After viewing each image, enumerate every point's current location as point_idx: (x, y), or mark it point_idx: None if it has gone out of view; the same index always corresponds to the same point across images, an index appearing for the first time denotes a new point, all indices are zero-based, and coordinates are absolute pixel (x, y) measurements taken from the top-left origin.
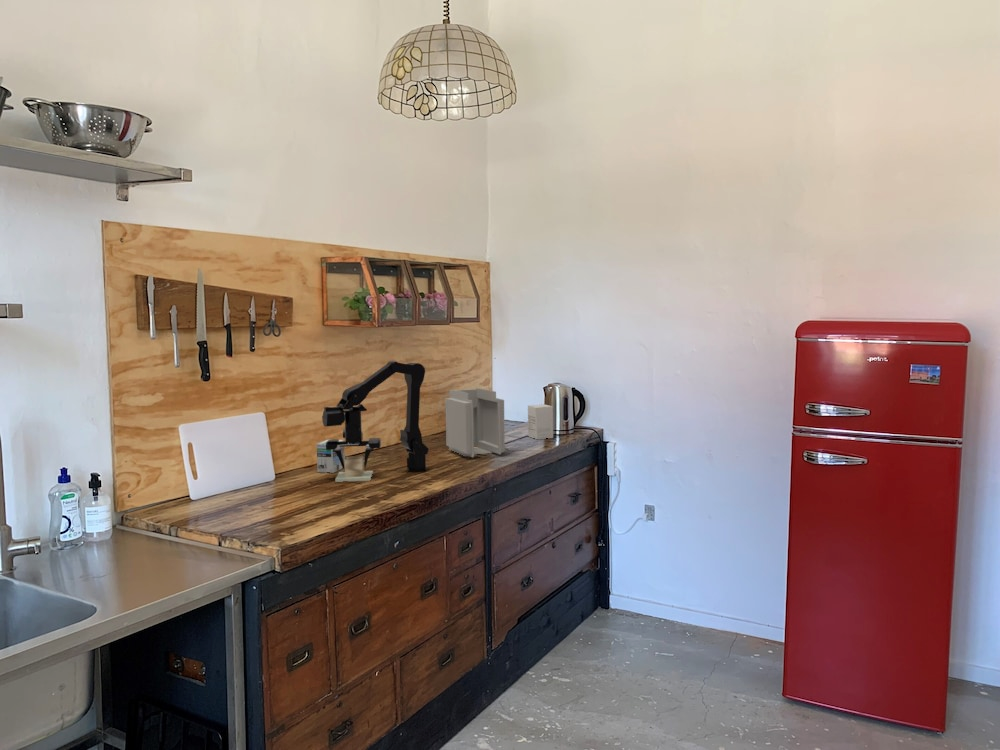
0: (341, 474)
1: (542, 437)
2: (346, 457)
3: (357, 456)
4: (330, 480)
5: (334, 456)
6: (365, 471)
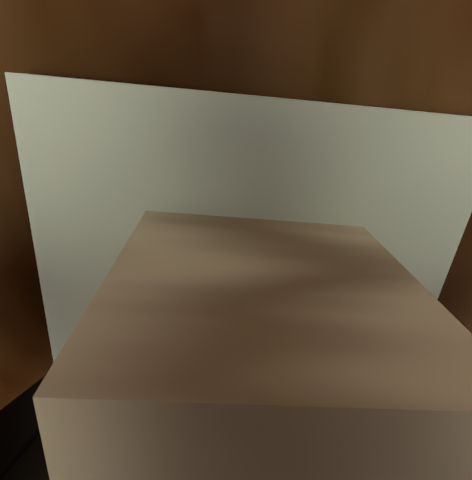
0: (83, 261)
1: None
2: (59, 477)
3: (378, 415)
4: (10, 354)
5: None
6: (396, 151)
